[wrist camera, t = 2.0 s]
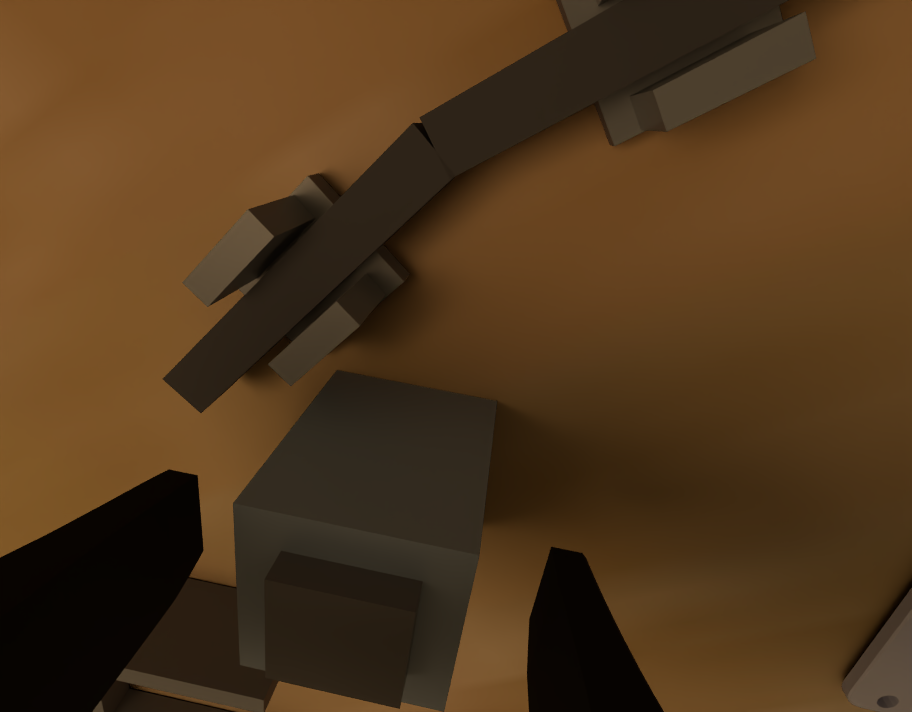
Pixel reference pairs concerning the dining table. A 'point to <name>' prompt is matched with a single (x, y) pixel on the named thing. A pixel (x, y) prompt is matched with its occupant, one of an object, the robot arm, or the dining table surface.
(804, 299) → the dining table surface
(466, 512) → the block
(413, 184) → the cable
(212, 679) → the end holder
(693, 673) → the dining table surface
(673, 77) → the clip
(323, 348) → the clip
